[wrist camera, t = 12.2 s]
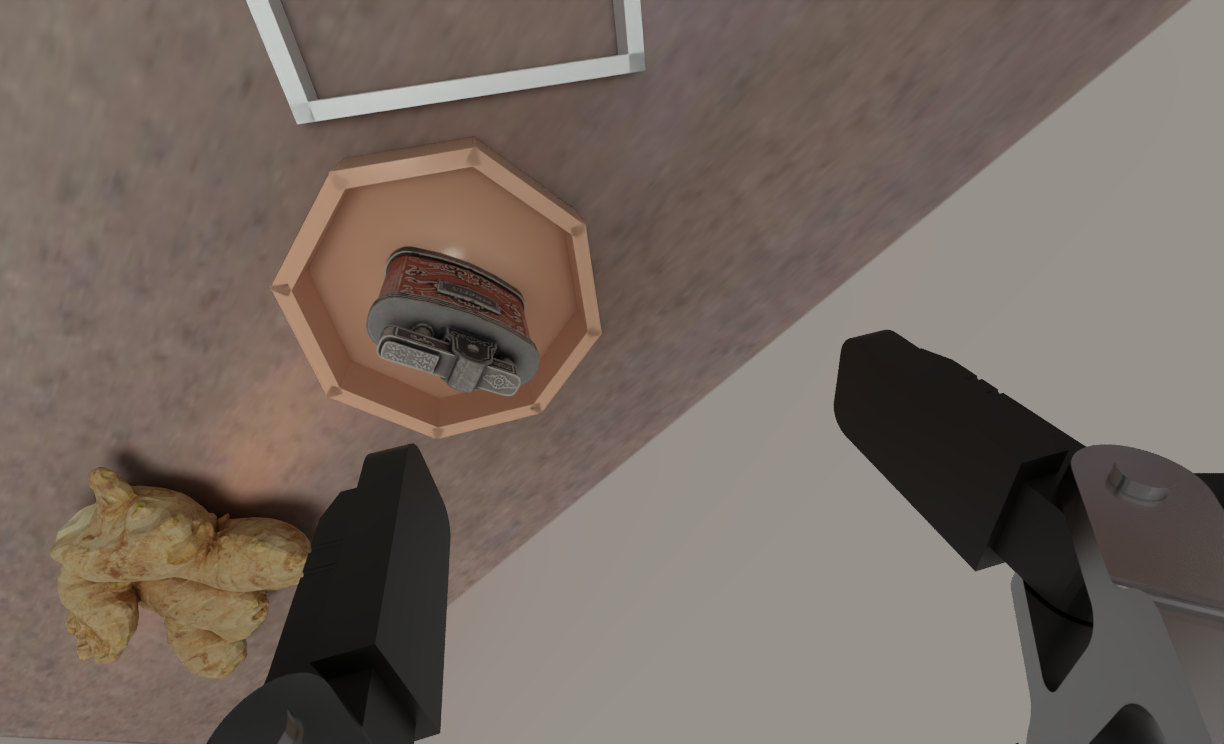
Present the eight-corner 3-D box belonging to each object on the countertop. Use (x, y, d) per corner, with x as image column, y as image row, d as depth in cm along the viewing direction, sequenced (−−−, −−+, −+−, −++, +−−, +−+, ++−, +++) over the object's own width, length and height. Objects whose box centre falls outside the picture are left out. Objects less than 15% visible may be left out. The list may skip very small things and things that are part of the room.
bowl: (558, 121, 28) (572, 129, 24) (597, 365, 36) (612, 396, 33) (249, 172, 25) (218, 189, 22) (368, 420, 34) (358, 459, 31)
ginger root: (164, 406, 29) (120, 531, 24) (377, 502, 41) (380, 600, 35) (-34, 541, 31) (-116, 686, 25) (226, 596, 42) (207, 703, 37)
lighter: (533, 288, 31) (560, 369, 23) (511, 334, 32) (528, 428, 24) (396, 232, 28) (370, 305, 19) (377, 286, 29) (345, 377, 21)
